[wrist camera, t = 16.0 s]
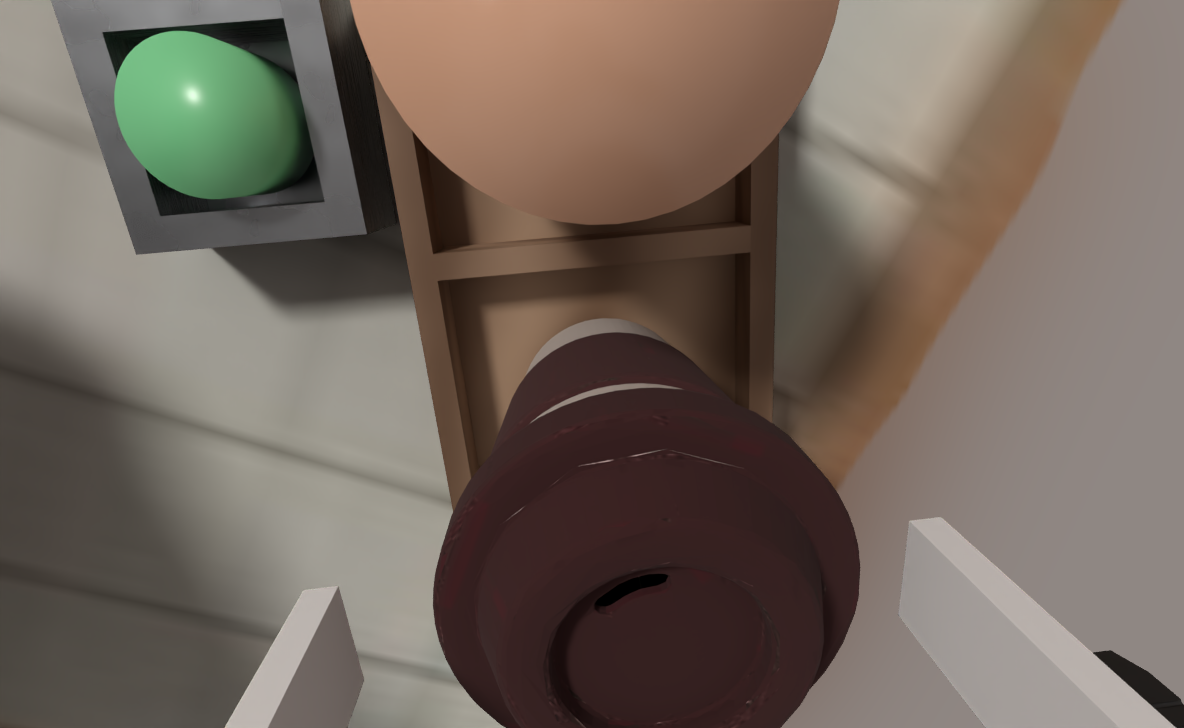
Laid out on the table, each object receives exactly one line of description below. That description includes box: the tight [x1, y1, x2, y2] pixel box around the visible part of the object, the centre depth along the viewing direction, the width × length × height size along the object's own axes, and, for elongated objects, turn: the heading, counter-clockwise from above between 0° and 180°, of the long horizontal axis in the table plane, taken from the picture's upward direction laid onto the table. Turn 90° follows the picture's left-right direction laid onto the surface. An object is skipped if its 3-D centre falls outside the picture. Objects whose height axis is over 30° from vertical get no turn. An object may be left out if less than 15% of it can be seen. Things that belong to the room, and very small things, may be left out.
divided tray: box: [370, 63, 779, 512], centre depth 23 cm, size 14×27×3 cm, turn 5°
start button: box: [114, 31, 314, 199], centre depth 19 cm, size 5×5×3 cm
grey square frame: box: [51, 0, 396, 255], centre depth 21 cm, size 8×8×4 cm
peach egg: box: [350, 0, 839, 225], centre depth 16 cm, size 9×9×12 cm
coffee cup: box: [433, 318, 860, 728], centre depth 19 cm, size 10×10×15 cm
